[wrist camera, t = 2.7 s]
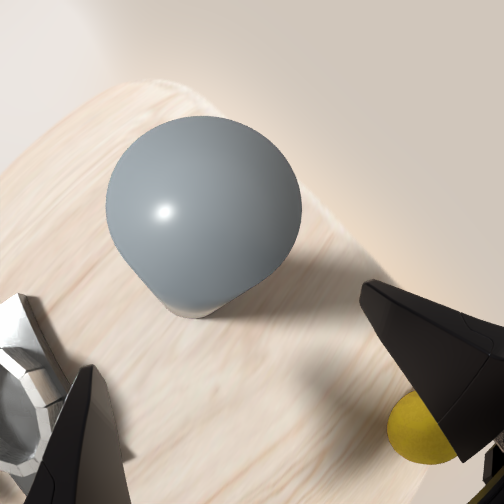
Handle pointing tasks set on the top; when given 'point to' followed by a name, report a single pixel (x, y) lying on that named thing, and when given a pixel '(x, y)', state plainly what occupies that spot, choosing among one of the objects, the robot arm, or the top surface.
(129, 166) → the grey rounded cylinder
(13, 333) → the duct plate
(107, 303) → the top surface
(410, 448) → the lemon
